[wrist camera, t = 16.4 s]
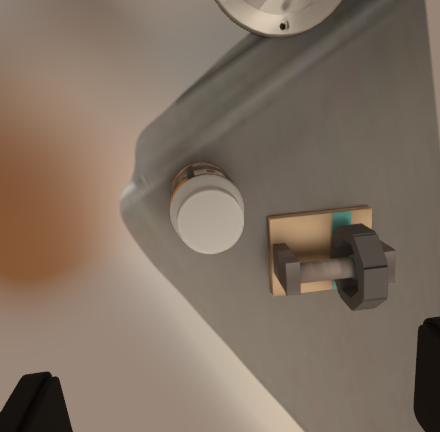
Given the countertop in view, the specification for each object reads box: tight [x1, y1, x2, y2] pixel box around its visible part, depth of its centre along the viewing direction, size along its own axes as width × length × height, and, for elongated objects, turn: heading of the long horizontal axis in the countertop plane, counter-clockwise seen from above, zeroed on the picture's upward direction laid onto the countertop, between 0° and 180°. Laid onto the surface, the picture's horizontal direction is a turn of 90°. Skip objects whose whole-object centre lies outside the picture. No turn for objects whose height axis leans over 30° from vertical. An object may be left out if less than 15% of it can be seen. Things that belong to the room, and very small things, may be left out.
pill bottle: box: [169, 162, 244, 254], centre depth 31 cm, size 6×6×10 cm
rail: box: [267, 206, 396, 296], centre depth 35 cm, size 8×10×6 cm
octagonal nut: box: [331, 223, 389, 311], centre depth 34 cm, size 7×2×7 cm, turn 5°
